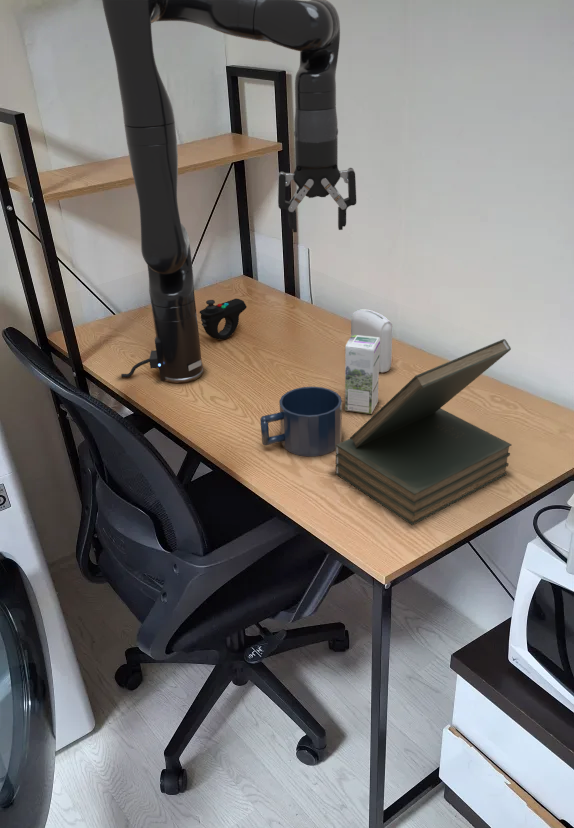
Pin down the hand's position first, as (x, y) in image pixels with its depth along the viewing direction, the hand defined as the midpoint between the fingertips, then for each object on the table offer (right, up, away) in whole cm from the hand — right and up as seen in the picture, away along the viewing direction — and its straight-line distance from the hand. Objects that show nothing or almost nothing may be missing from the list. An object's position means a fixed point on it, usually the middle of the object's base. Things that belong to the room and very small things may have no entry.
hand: (317, 230), depth 146 cm
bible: (+18, -46, -8) cm, 50 cm away
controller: (-21, -11, +43) cm, 49 cm away
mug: (-3, -40, +2) cm, 40 cm away
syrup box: (+9, -32, +13) cm, 35 cm away
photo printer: (+13, -20, +28) cm, 37 cm away
